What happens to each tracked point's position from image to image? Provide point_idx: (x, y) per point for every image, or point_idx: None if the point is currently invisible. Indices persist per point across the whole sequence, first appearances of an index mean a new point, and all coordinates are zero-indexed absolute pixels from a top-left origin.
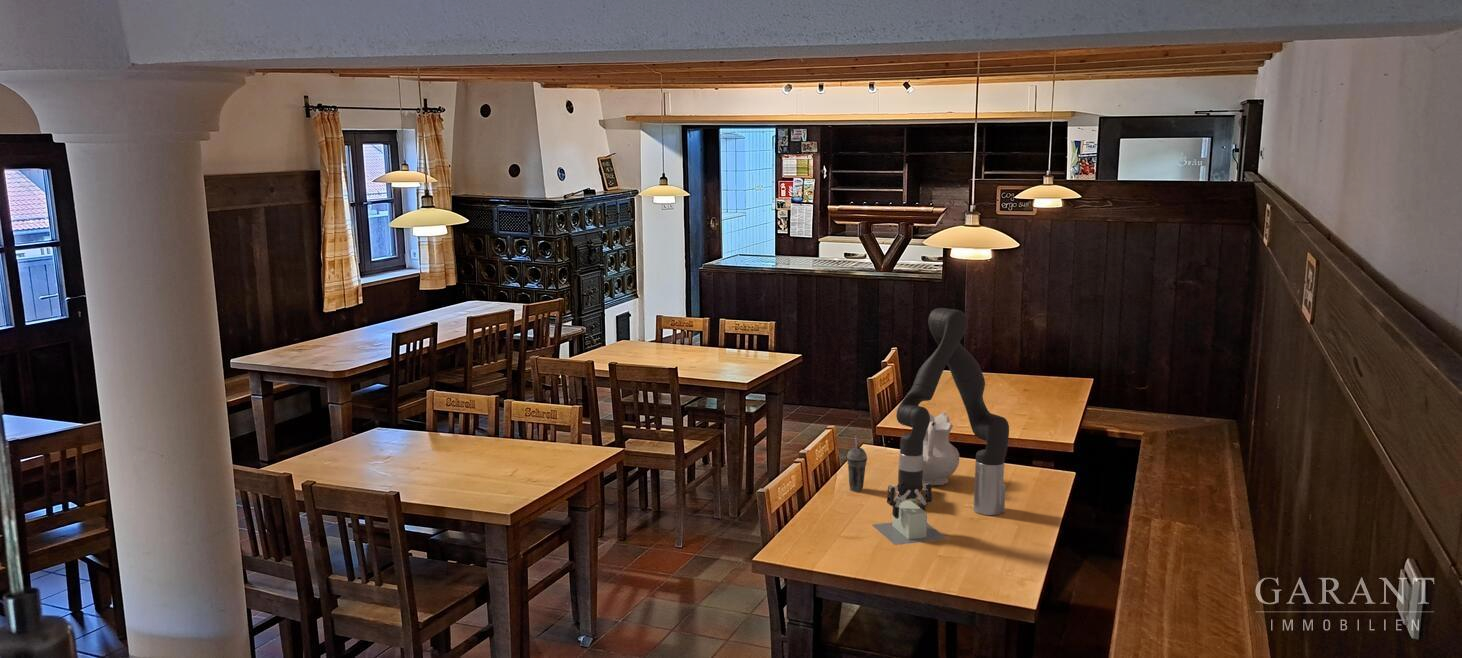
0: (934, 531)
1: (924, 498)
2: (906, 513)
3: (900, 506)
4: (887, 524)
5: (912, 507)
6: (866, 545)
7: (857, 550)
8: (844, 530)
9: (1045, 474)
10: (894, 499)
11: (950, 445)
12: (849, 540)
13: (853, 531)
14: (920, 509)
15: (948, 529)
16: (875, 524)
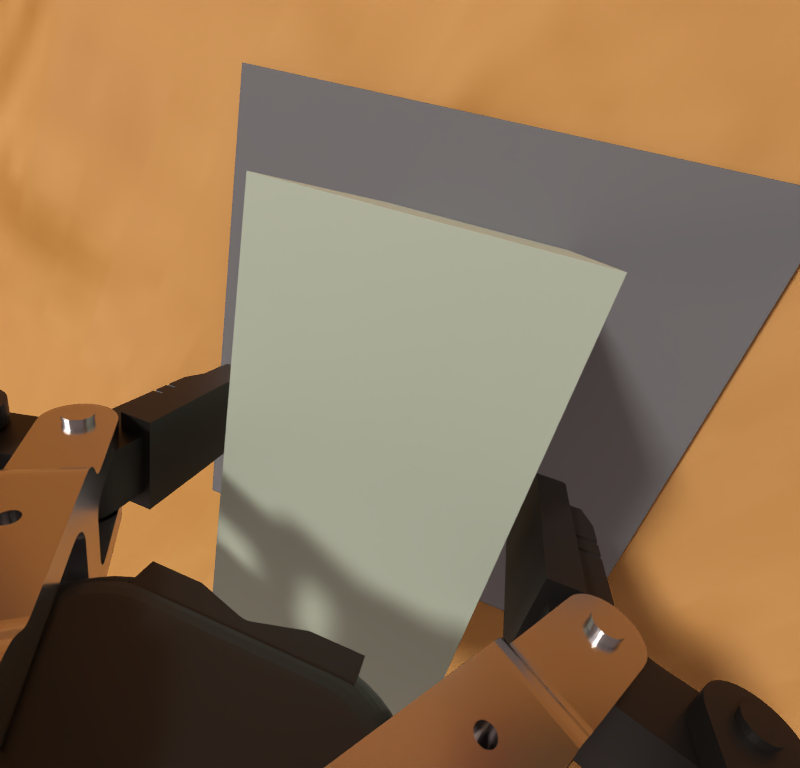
0: (613, 504)
1: (653, 747)
2: (220, 585)
3: (249, 416)
4: (375, 141)
5: (382, 543)
6: (83, 386)
7: (26, 409)
8: (24, 67)
9: None
10: (13, 459)
11: None
12: (17, 267)
13: (76, 126)
14: (426, 649)
15: (789, 529)
16: (277, 79)
